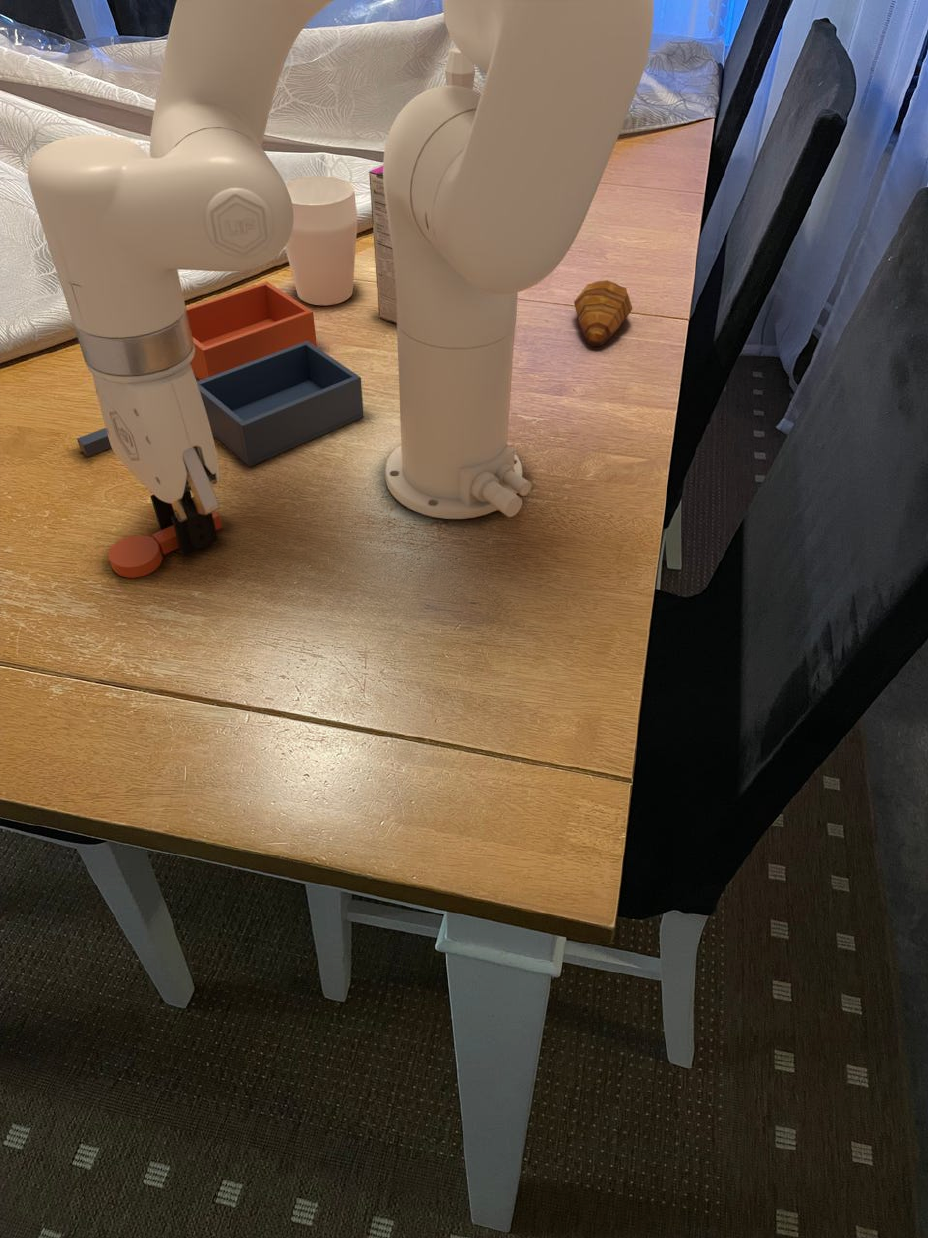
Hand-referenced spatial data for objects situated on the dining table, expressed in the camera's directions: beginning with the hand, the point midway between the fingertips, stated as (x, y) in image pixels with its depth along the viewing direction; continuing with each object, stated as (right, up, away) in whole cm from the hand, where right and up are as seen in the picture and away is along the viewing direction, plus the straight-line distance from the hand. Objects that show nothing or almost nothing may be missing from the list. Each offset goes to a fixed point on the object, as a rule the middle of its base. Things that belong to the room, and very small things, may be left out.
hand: (189, 535), depth 75 cm
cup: (+6, +32, +32) cm, 46 cm away
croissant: (+39, +27, +28) cm, 56 cm away
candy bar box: (+18, +30, +30) cm, 46 cm away
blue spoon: (-9, +11, +10) cm, 17 cm away
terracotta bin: (-1, +22, +22) cm, 31 cm away
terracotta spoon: (-2, -1, -1) cm, 2 cm away
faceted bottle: (+23, +44, +44) cm, 66 cm away
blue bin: (+5, +13, +13) cm, 19 cm away
